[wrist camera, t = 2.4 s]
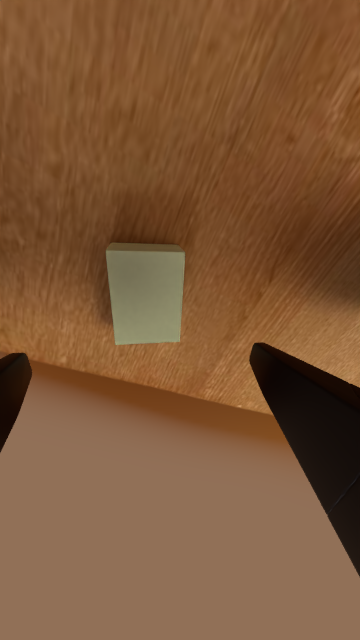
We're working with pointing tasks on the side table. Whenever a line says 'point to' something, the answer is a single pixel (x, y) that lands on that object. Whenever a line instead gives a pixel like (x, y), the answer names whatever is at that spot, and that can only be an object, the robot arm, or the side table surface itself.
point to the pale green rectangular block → (145, 291)
